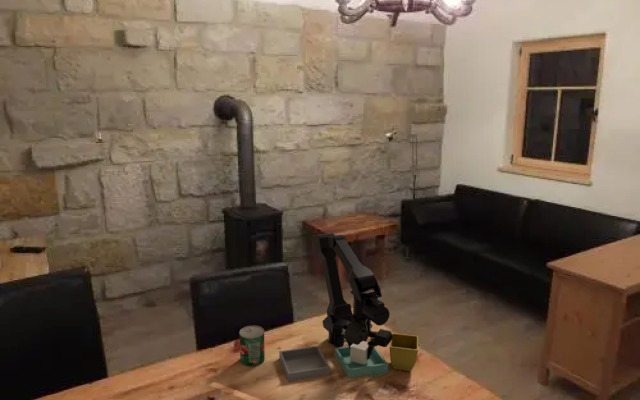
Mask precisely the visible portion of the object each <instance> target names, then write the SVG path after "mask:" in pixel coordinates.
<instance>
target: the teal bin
mask: <svg viewBox="0 0 640 400" xmlns="http://www.w3.org/2000/svg"><path fill="white" fill-rule="evenodd" d="M334 356H335V358H336V360H337V361H338V363H339V365H340V366H341V368H342V369H343V372H344V373H345V375H346V376H347V378H355V377H360V376H366V375H368V378H371V377H372V378H373V377H376V376H382V375H387V374H388V371H389V369H388V368H389V363H388V362H387V361H386V359H385V358H384V357H383V356H382V354H381V353H380V352H379V351H378V349H377V348H376V347H374V350H373V352H372V354H371V358H370V359H369V360H368V361H367V363H366V364H365V365H363V364H359V363H356V362H353V361H350V348H349V346H340V347H335V348H334Z"/></svg>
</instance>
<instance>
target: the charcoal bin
mask: <svg viewBox="0 0 640 400" xmlns="http://www.w3.org/2000/svg"><path fill="white" fill-rule="evenodd" d="M278 354H279V355H278V356H279V357H278V358H279V361H280V363H281V366H282V369H283V371H284V374H285V376H286V379H287V381H288V382H292V381H293V382H294V381H299V380H305V379H306V380H307V379H313V378H318V377H319V378H320V377H323V376H330V375H331V373H330V372H331V371H330V370H331V366H330V365H329V364H328V361H327V360H326V357H324V354H323V353H322V351H321V349H320V347H319V345H314V346H307V347H299V348H293V349H285V350H279V352H278Z"/></svg>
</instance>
